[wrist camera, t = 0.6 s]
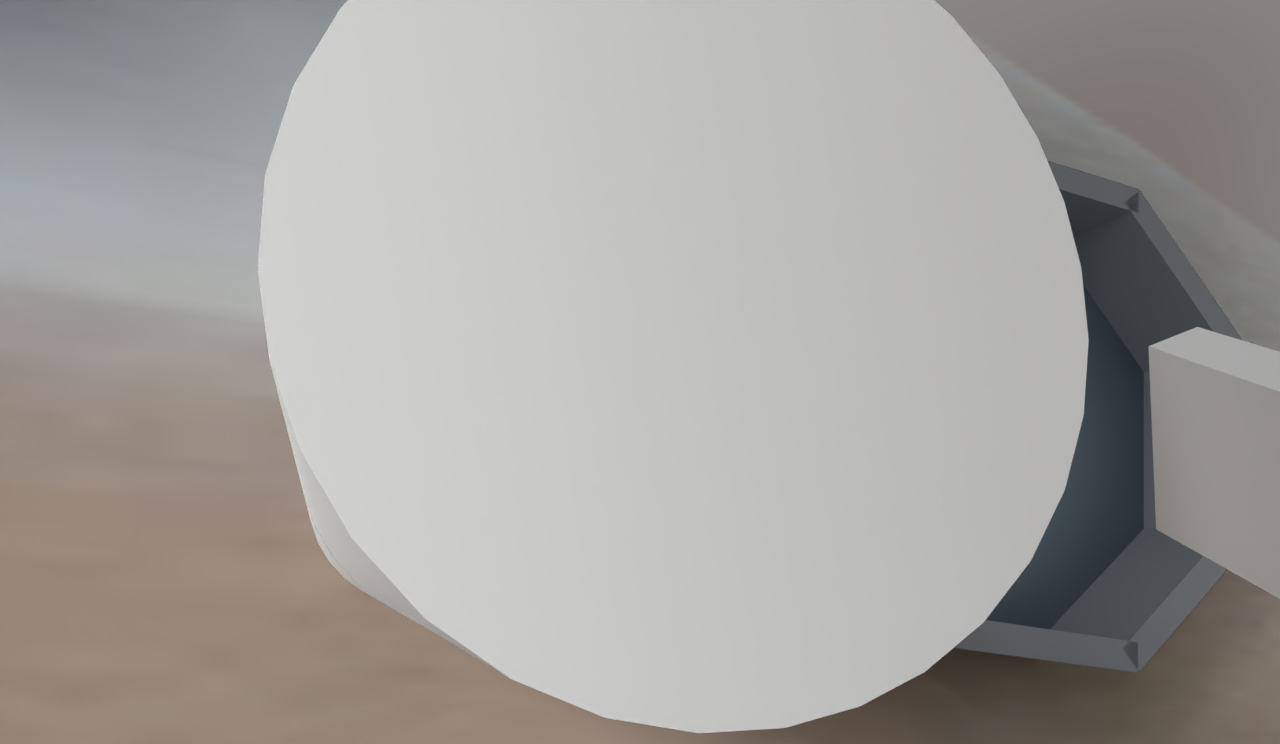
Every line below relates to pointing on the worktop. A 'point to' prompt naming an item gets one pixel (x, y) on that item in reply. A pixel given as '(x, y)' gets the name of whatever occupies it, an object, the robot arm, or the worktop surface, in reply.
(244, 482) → the worktop surface
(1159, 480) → the robot arm
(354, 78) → the cylindrical container
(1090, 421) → the bowl
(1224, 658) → the worktop surface
